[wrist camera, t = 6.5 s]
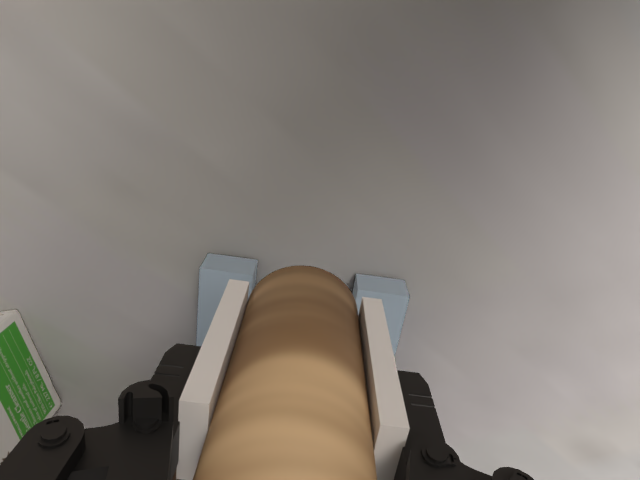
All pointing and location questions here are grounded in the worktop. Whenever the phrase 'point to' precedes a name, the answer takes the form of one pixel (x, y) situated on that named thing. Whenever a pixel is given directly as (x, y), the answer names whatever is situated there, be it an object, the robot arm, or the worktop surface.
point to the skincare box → (21, 384)
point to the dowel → (293, 387)
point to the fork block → (228, 267)
